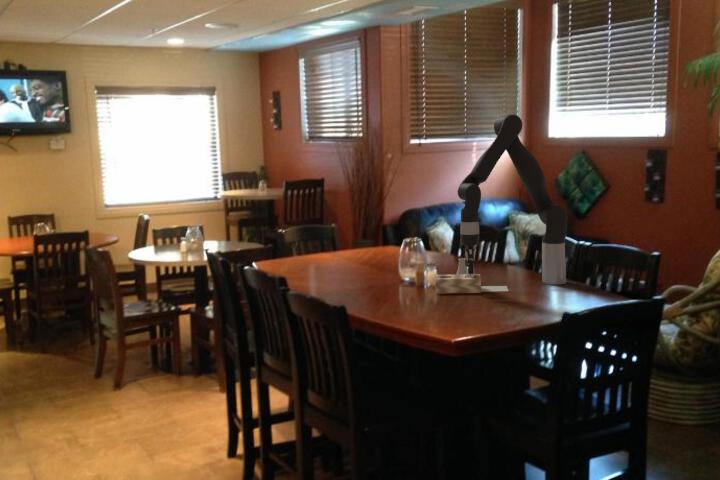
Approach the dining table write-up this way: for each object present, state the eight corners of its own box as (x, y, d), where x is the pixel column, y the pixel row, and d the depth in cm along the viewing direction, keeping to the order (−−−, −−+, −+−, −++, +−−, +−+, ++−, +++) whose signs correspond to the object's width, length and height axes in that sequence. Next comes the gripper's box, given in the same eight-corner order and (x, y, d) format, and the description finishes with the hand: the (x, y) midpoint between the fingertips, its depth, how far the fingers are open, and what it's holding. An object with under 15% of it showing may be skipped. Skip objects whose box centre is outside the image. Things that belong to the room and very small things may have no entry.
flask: (470, 283, 309) (470, 260, 307) (453, 283, 310) (453, 260, 309) (471, 279, 316) (470, 257, 314) (454, 279, 317) (454, 257, 316)
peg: (474, 290, 294) (473, 266, 293) (474, 291, 291) (474, 267, 290) (466, 290, 295) (466, 266, 293) (467, 291, 292) (466, 267, 290)
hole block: (480, 288, 297) (479, 274, 296) (481, 293, 288) (481, 278, 287) (436, 288, 300) (436, 274, 299) (436, 294, 290) (435, 279, 289)
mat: (506, 286, 298) (506, 285, 298) (508, 292, 288) (508, 291, 288) (477, 287, 299) (477, 286, 299) (478, 292, 290) (478, 291, 290)
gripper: (480, 234, 282) (480, 275, 284) (478, 230, 296) (479, 268, 298) (460, 235, 283) (461, 275, 285) (460, 230, 297) (460, 268, 299)
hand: (470, 271), depth 292 cm, fingers open, 8 cm apart
